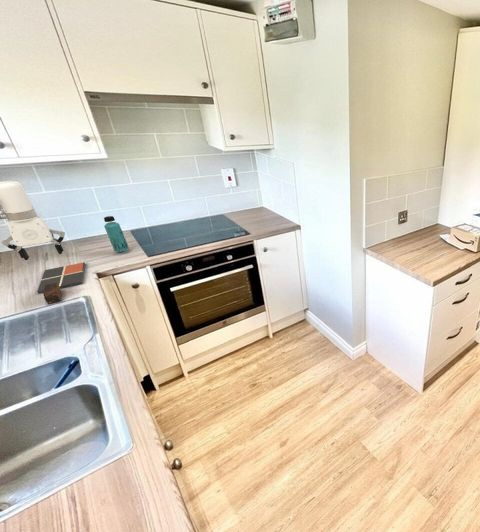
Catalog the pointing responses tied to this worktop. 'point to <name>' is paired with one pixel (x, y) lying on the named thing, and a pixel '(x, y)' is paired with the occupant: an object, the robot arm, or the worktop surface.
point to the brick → (52, 293)
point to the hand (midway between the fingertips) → (44, 256)
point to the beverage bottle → (115, 235)
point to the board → (63, 276)
